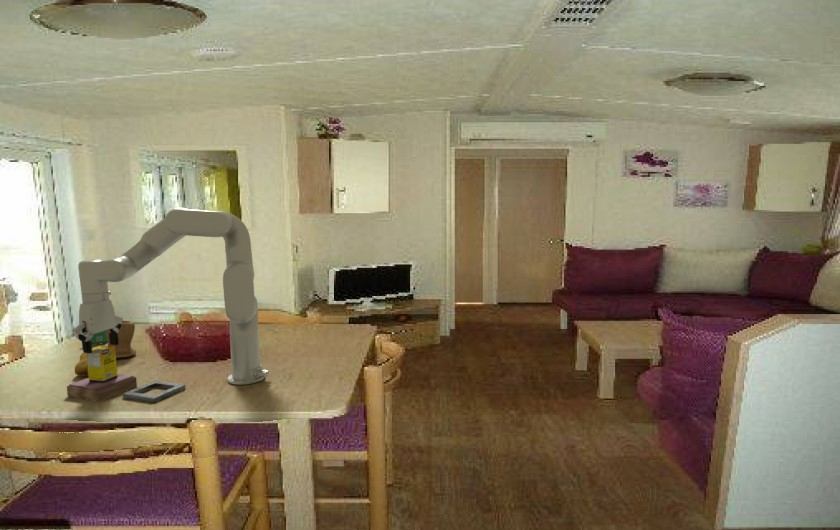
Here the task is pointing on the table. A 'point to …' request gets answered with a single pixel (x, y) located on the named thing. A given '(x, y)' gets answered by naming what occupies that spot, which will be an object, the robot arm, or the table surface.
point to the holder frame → (171, 387)
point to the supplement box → (102, 364)
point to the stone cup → (124, 340)
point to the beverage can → (98, 338)
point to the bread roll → (82, 366)
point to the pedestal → (101, 388)
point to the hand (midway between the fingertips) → (101, 348)
